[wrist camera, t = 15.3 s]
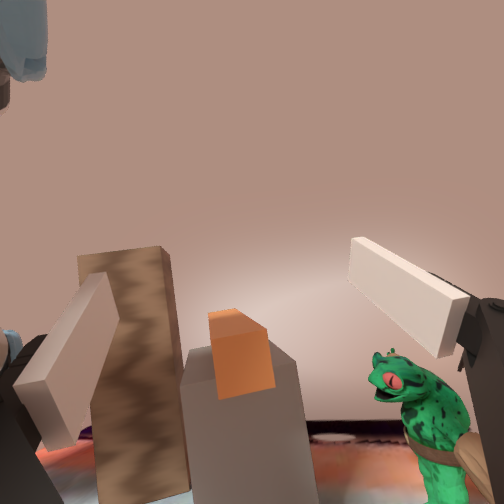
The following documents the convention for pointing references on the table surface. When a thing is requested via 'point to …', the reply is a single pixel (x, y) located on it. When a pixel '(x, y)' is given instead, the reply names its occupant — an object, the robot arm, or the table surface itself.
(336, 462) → the table surface
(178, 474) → the post
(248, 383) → the orange rectangular bar
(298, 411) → the grey upright cuboid
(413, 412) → the toy
